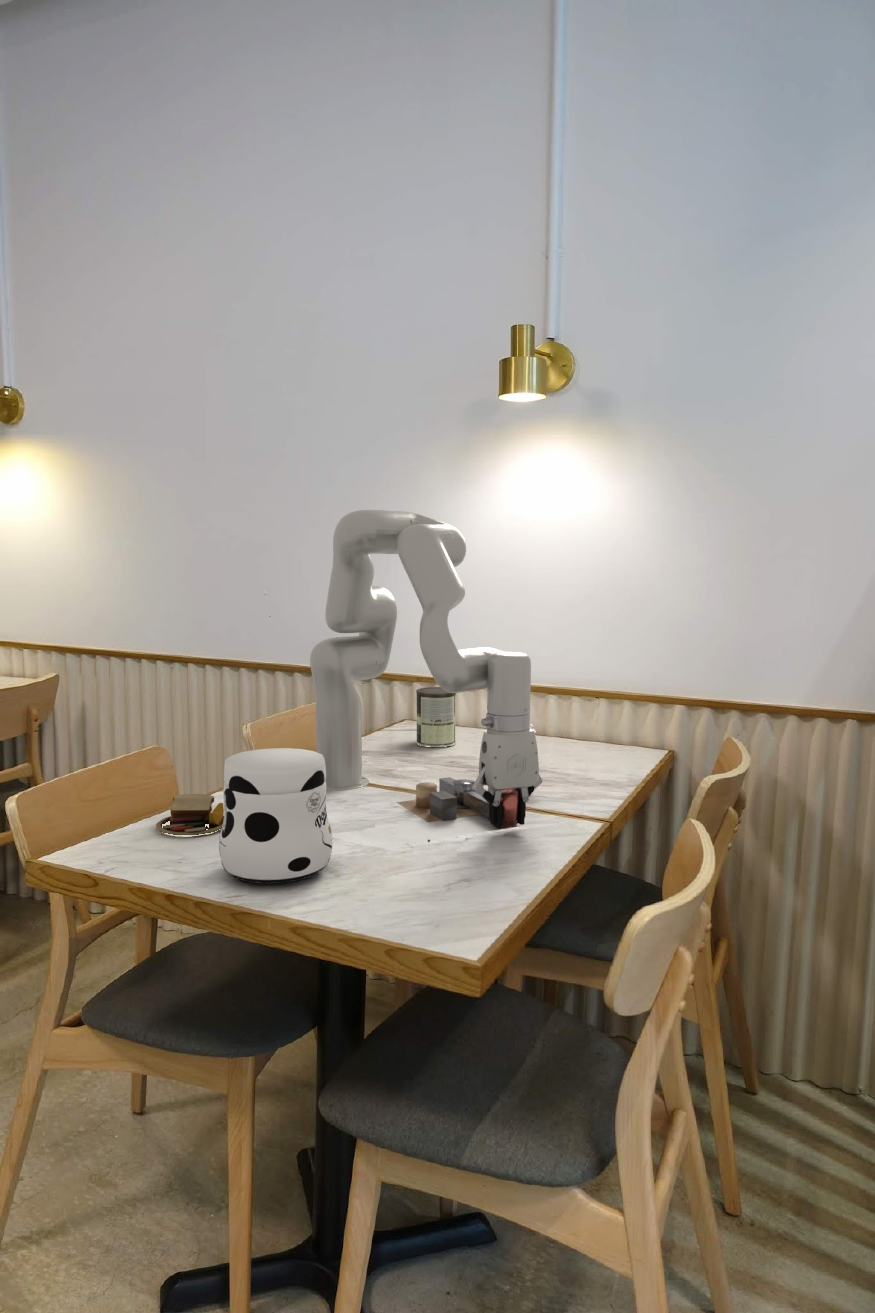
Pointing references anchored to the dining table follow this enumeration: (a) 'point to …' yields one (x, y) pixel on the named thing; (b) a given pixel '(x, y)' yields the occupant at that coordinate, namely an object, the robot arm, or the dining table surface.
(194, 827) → the toy sandwich meal
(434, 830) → the dining table surface
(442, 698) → the coffee can
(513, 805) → the lever
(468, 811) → the base
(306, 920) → the dining table surface
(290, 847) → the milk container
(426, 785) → the cylinder
